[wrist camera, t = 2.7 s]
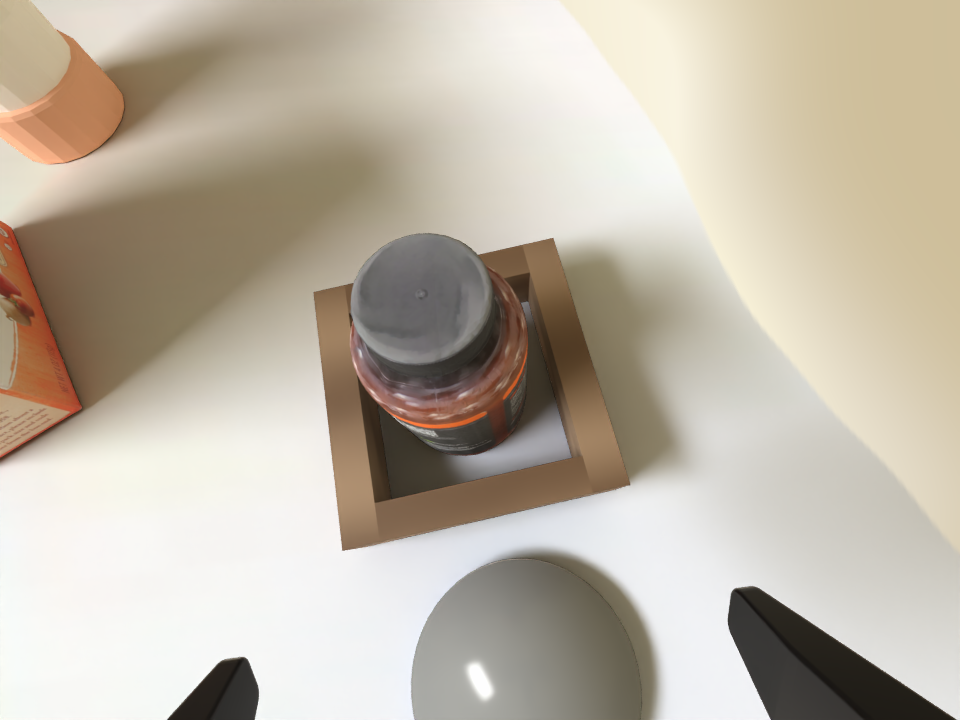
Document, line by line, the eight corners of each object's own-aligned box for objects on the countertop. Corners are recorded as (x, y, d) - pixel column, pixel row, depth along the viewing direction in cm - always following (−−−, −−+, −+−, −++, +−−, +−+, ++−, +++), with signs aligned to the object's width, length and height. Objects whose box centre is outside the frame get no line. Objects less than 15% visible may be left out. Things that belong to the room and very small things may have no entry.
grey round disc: (574, 872, 18) (577, 888, 17) (373, 721, 19) (367, 729, 19) (672, 633, 20) (678, 637, 19) (482, 518, 22) (481, 518, 21)
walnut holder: (614, 489, 22) (630, 484, 19) (364, 547, 22) (342, 550, 19) (548, 269, 26) (553, 238, 23) (335, 317, 25) (313, 292, 23)
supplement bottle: (508, 328, 25) (504, 179, 14) (539, 441, 23) (562, 368, 12) (395, 356, 25) (303, 227, 14) (416, 471, 23) (329, 425, 12)
